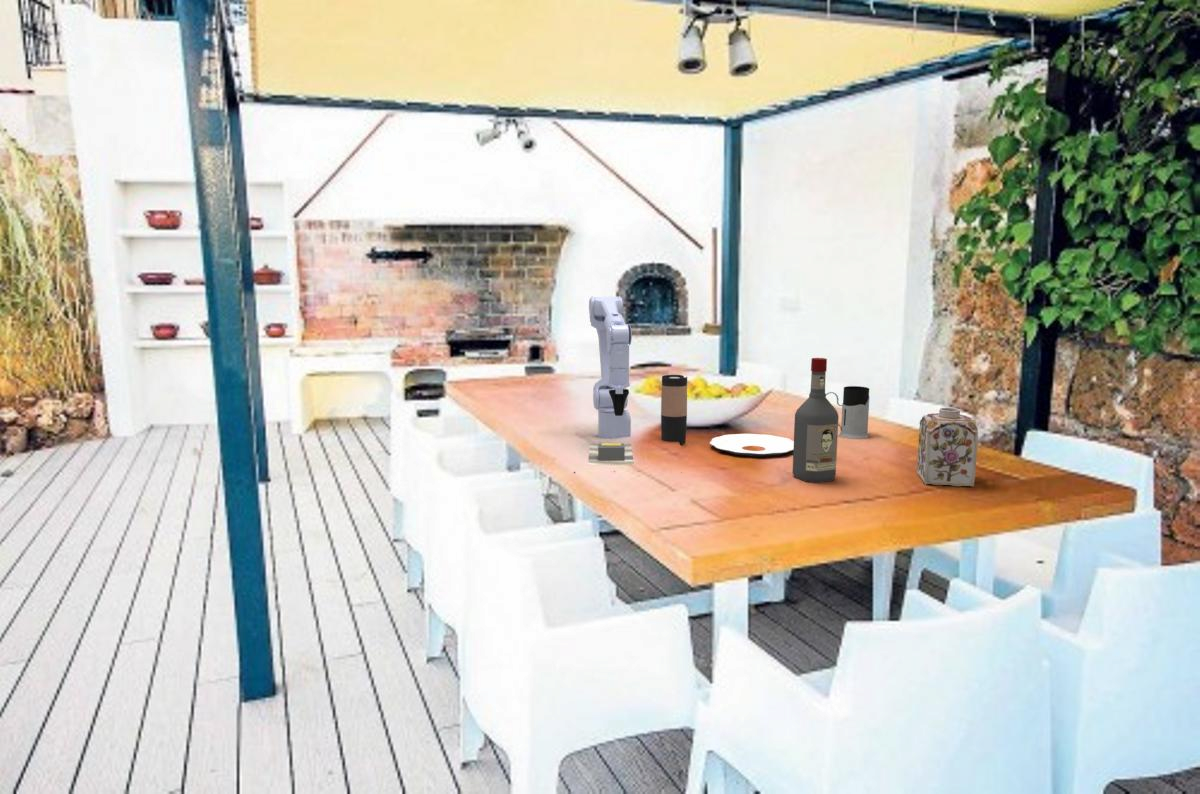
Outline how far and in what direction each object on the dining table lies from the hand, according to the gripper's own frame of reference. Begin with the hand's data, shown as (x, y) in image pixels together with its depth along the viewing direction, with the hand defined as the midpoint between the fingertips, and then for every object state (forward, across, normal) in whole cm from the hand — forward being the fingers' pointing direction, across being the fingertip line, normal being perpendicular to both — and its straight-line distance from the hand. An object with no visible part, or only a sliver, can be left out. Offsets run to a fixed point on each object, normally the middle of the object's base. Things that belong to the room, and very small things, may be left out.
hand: (618, 415), depth 231 cm
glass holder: (+11, -20, +70) cm, 74 cm away
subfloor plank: (+10, +8, -2) cm, 13 cm away
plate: (+11, -4, +39) cm, 41 cm away
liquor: (+11, +28, +48) cm, 57 cm away
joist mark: (+10, +13, -2) cm, 17 cm away
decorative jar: (+11, +30, +80) cm, 86 cm away
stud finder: (+9, +13, -2) cm, 16 cm away
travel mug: (+11, -10, +16) cm, 22 cm away
